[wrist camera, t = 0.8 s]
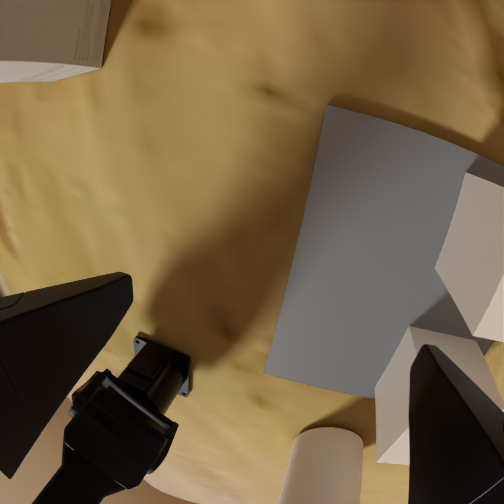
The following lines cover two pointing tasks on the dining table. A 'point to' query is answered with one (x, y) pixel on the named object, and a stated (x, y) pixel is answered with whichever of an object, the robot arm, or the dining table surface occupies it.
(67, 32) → the supplement box
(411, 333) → the empty cover
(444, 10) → the dining table surface
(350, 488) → the beverage can
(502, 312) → the block
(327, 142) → the board
